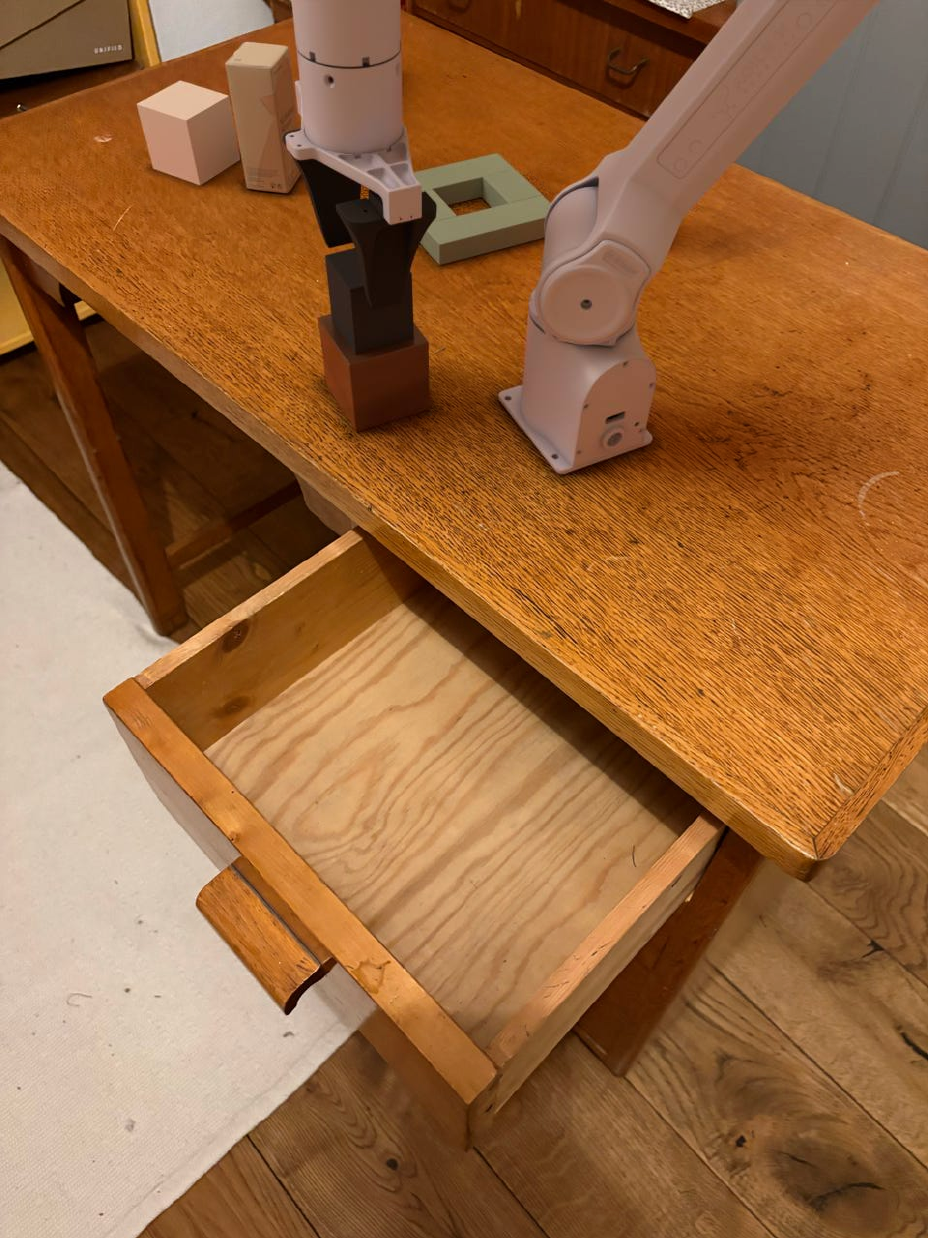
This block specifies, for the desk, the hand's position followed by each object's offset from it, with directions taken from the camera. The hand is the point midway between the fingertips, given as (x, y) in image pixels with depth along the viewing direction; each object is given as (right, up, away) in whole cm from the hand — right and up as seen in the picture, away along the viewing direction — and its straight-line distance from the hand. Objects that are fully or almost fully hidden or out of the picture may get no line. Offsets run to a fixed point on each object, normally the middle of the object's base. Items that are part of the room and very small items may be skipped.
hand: (362, 272), depth 60 cm
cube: (0, -6, +8) cm, 10 cm away
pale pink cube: (-20, +22, +29) cm, 41 cm away
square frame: (+7, +14, +24) cm, 29 cm away
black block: (0, -3, +3) cm, 4 cm away
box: (-12, +19, +28) cm, 36 cm away
